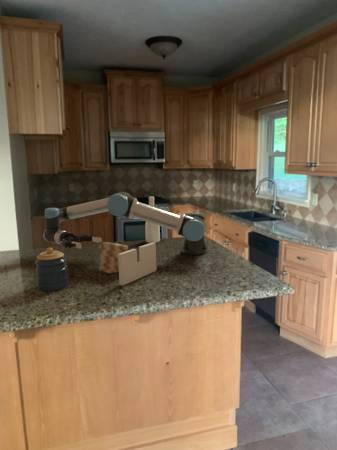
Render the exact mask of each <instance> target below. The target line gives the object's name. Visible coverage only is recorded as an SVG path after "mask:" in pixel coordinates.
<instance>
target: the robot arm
mask: <svg viewBox="0 0 337 450" xmlns="http://www.w3.org/2000/svg"><path fill="white" fill-rule="evenodd" d="M105 212H109V213H110V214H111V215H113V216H115V217H123V218H127V219H132V218H135V219H139V220H141V221H143V222H144V221H145V222H146V221H147V222H150V223H153V224H156V225H159V226H160V227H163V228H166V229H168V230H172V231H175V233H176V236H177V235H178V236H181V237H183V238H184V239H183V243H182V245H181V253H183V254H185V255H190V256H191V255H193V256H197V255H203V254H206V253H207V252H208V246H207V243H206V239H205V232H206V226H205V214H204V212H186V213H183V214H182V215H179V214H176V213H172V212H170V211H166V210H164V209H161V208H159V207H155V206H154V207H152V206H149V204H146V203H142V202H140V201H138V199H137V197H134V196H132V195H131V194H130V193H128V192H126V191H119V192H117V193H114V194H112V195H109V196H108V197H106V198H102V199H97V200H92V201H88V202H83V203H79V204H74V205H70V206H65V207H59V208H58V207H48V208H45V210H44V219H45V229H44V230H43V233H42V238H43V239H44V241H46V242H48V243H51V244H52V243H53V244H58V245H61V246H63V247H64V248H65V249H67V248H68V249H69V250H71V249H72V248H75V249H79V250H81V249H82V248H83V247H82V242H92V243H97V244H99V242H101V241H103V240H102V239H103V238H102V237H99V236H98V237H97V235H94V234H91V235H89V234H79V235H74V234H73V232H71V231H68V230H67V231H66V230H61V223H62V222H64V221H68V220H69V221H70V220H74V219H77V218H78V219H79V218H83V217H88V216H92V215H96V214H100V213H105Z"/></svg>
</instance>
